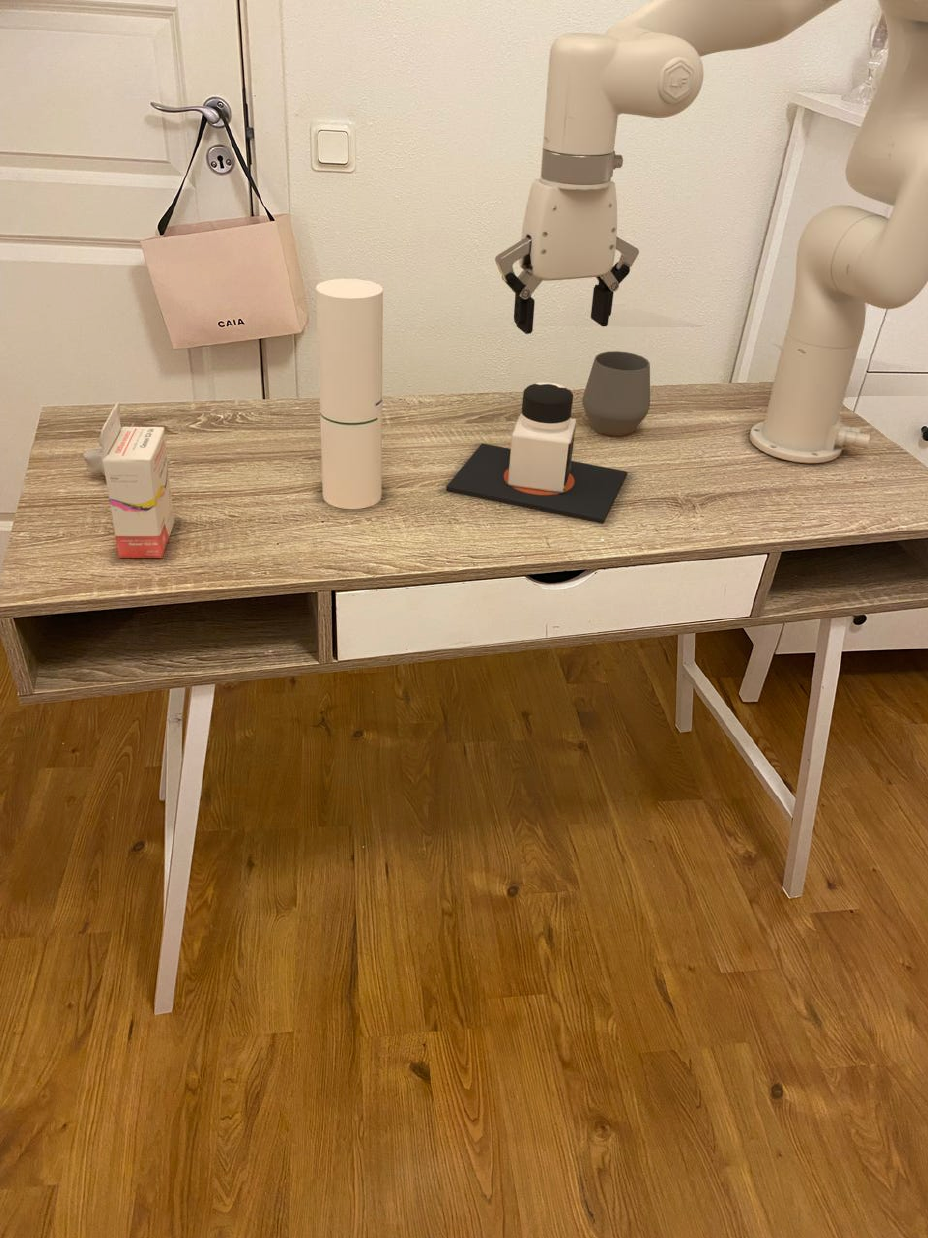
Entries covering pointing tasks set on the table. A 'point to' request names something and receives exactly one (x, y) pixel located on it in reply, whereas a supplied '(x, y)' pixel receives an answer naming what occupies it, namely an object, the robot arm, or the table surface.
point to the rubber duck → (95, 458)
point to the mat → (581, 499)
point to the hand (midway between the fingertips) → (561, 326)
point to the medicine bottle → (543, 439)
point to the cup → (617, 393)
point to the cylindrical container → (350, 391)
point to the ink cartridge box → (137, 487)
